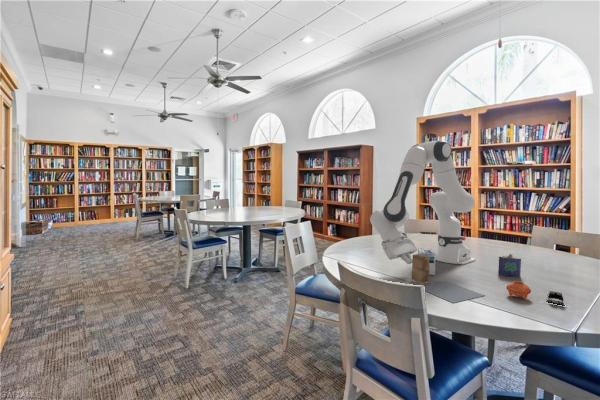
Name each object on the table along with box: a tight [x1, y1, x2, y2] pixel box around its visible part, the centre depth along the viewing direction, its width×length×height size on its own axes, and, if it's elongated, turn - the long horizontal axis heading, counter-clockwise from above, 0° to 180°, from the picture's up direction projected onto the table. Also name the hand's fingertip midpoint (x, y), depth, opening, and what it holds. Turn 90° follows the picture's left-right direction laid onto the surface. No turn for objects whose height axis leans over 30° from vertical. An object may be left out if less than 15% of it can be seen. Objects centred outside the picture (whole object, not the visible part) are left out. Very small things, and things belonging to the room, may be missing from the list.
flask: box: [497, 253, 522, 277], centre depth 146 cm, size 9×3×11 cm, turn 74°
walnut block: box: [411, 253, 430, 285], centre depth 137 cm, size 5×5×12 cm
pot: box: [506, 280, 532, 301], centre depth 120 cm, size 8×8×7 cm
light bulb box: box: [417, 247, 436, 276], centre depth 152 cm, size 11×7×11 cm, turn 168°
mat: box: [423, 280, 486, 304], centre depth 126 cm, size 18×18×1 cm
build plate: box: [546, 290, 565, 306], centre depth 114 cm, size 12×7×5 cm, turn 53°
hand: (410, 263), depth 141 cm, fingers closed
